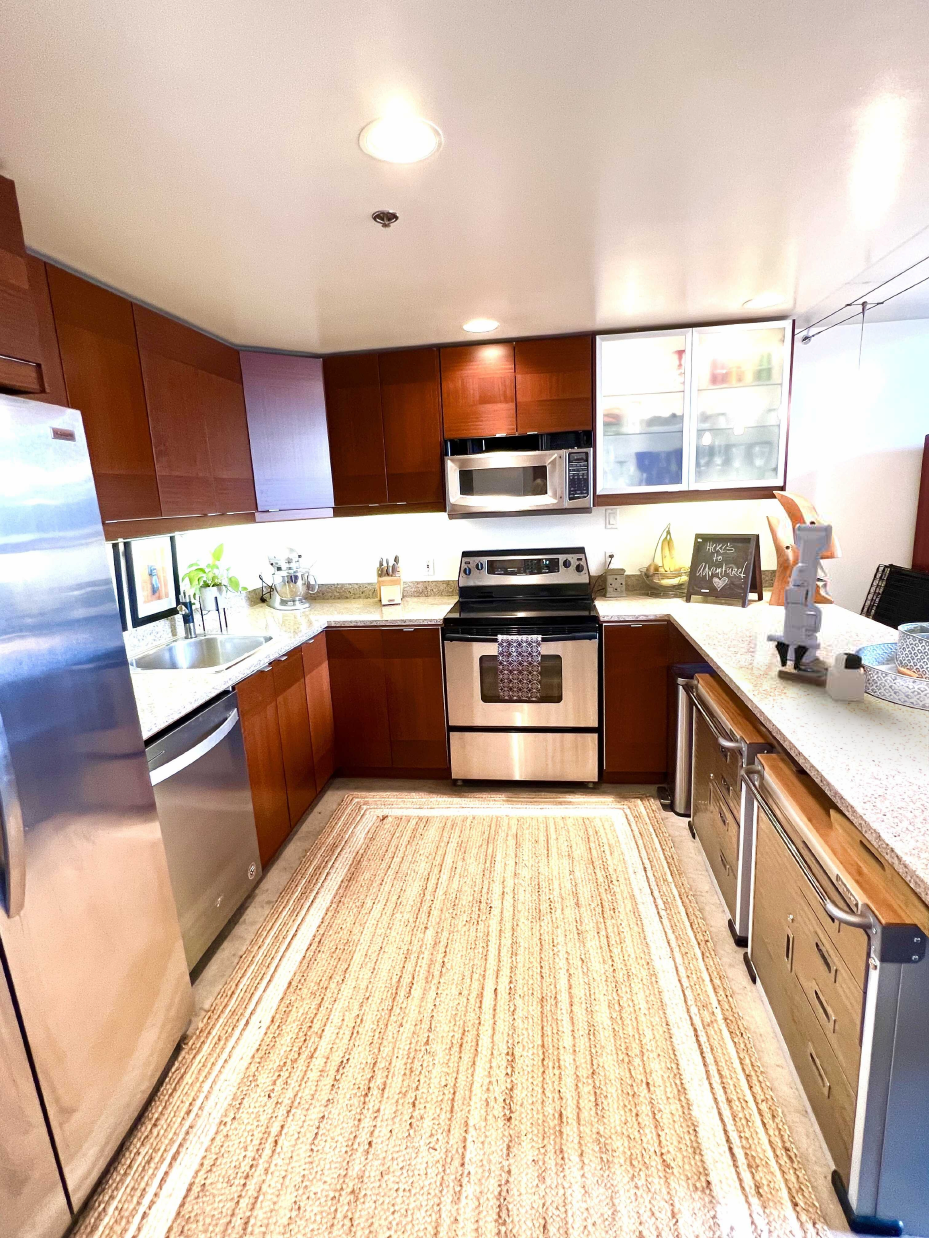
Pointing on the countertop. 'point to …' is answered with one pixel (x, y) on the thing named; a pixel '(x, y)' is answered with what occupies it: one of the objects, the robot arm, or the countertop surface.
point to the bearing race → (811, 671)
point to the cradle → (804, 677)
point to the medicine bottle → (846, 678)
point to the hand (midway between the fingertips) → (790, 667)
